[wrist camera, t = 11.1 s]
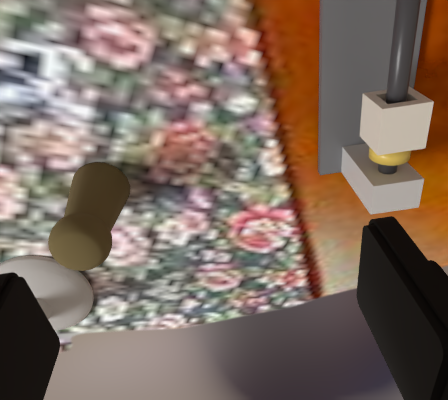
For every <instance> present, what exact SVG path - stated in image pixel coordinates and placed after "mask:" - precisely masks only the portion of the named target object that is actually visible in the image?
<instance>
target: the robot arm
mask: <svg viewBox="0 0 448 400" xmlns="http://www.w3.org/2000/svg"><path fill="white" fill-rule="evenodd" d="M357 300H358V304H359V307H360V309H361V311H362V313H363V315H364V317H365V319H366V321H367V323H368V326H369V327H370V330H371V332H372V334H373V336H374V338H375V340H376V342H377V344H378V346H379V349H380V351H381V353H382V355H383V357H384V359H385V361H386V363H387V365H388V367H389V369H390V372H391V374H392V376H393V378H394V380H395V382H396V384H397V386H398V388H399V390H400V392H401V394H402V397H403V399H404V400H448V276H447V274H446V273H445V272H444V271H443V269H442V268H441V267H440V266H439V265H438V264H437V263H436V262H434V261H432V260H430V261H428V260H427V259H426V257H425V256H424V255H423V253H422V252H421V251H420V250H419V248H418V247H417V246H416V244H415V243H414V242H413V240H412V239H411V238H410V237H409V235H408V234H407V233H406V231H405V230H404V229H403V228H402V226H401V225H400V224H399V222H398V221H397V220H396V219H395V218H394V217H392V216H391V217H384V218H377V219H372V220H370V222H369V225H367V226H364V227H363V233H362V243H361V254H360V265H359V275H358V286H357ZM59 349H60V341H59V338H58V336H57V334H56V332H55V330H54V329H53V327H52V325H51V323H50V322H49V320H48V318H47V317H46V315H45V313H44V311H43V310H42V308H41V306H40V304H39V303H38V301H37V299H36V297H35V296H34V294H33V292H32V291H31V289H30V287H29V285H28V284H27V282H26V280H25V279H24V278H23V277H19V276H18V275H17V274H16V273H14V272H11V273H4V274H0V400H43V399H44V396H45V393H46V389H47V386H48V383H49V380H50V377H51V374H52V371H53V368H54V365H55V362H56V359H57V356H58V353H59Z"/></svg>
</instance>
